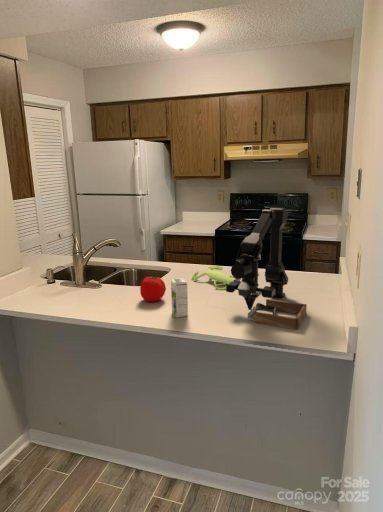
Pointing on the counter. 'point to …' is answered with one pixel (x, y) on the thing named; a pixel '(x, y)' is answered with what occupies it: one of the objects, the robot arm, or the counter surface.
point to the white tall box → (179, 297)
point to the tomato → (152, 289)
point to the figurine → (216, 276)
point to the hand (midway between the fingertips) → (250, 309)
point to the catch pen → (282, 320)
